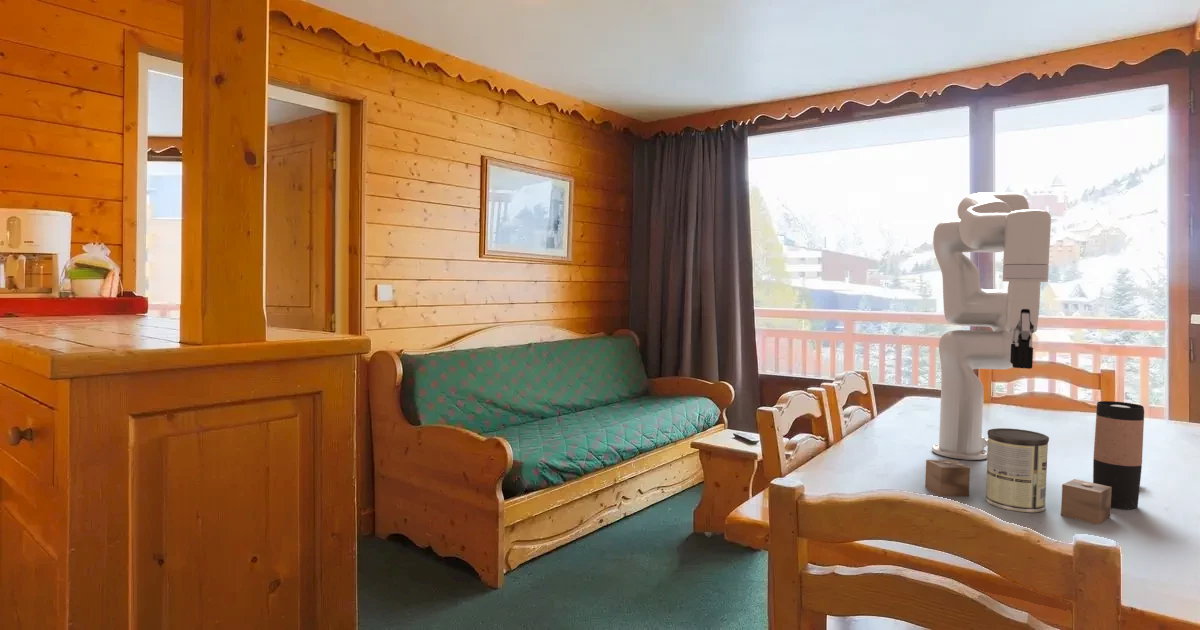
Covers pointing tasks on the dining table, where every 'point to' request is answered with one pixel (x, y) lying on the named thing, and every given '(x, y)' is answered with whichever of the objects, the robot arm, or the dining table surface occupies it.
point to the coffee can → (1016, 469)
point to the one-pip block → (1086, 501)
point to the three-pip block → (947, 477)
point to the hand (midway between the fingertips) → (1020, 365)
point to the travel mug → (1119, 451)
